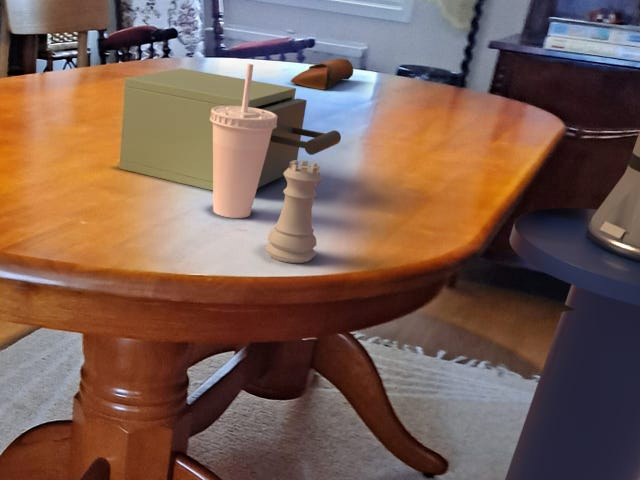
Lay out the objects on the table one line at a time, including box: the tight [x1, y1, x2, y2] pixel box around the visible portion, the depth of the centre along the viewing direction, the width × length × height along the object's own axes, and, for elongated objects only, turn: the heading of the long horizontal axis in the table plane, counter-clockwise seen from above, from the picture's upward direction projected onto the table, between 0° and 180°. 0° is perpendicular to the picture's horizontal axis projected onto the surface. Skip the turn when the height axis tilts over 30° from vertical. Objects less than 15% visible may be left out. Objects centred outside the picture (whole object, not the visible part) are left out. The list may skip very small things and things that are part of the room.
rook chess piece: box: [264, 159, 323, 264], centre depth 71 cm, size 4×4×8 cm
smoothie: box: [210, 63, 277, 219], centre depth 80 cm, size 6×6×14 cm
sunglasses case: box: [289, 58, 354, 91], centre depth 167 cm, size 18×7×7 cm
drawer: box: [255, 98, 342, 189], centre depth 92 cm, size 19×12×8 cm, turn 60°
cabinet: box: [118, 68, 297, 191], centre depth 94 cm, size 15×13×10 cm
